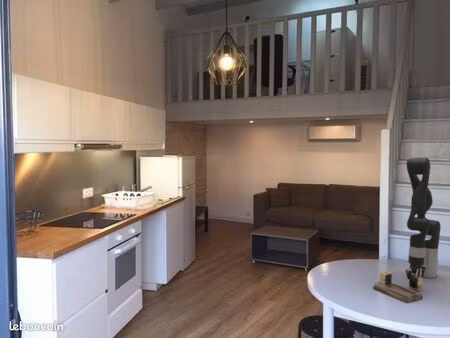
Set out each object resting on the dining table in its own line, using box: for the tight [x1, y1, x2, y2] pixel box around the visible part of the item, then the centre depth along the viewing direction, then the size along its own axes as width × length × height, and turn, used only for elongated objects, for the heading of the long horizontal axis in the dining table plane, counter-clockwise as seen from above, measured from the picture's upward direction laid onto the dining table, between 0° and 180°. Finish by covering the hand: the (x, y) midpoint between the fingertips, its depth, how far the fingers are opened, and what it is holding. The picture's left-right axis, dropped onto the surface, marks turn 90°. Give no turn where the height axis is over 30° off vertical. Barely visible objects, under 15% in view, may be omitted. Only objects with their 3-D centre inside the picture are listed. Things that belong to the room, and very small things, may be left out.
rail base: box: [372, 271, 424, 304], centre depth 193 cm, size 12×20×8 cm, turn 28°
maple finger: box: [408, 274, 423, 292], centre depth 199 cm, size 5×3×7 cm, turn 29°
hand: (414, 286), depth 199 cm, fingers closed on maple finger, 3 cm apart
